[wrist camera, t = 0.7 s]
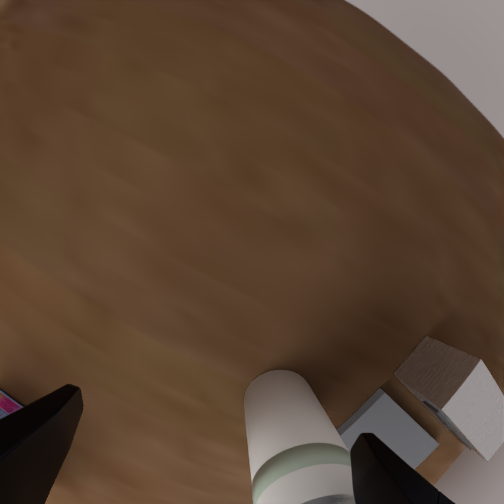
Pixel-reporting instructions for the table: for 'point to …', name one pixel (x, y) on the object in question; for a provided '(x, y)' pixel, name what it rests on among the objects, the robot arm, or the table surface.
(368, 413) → the dock mat
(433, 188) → the table surface
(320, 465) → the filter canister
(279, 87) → the table surface
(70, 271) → the table surface
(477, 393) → the block
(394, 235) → the table surface
